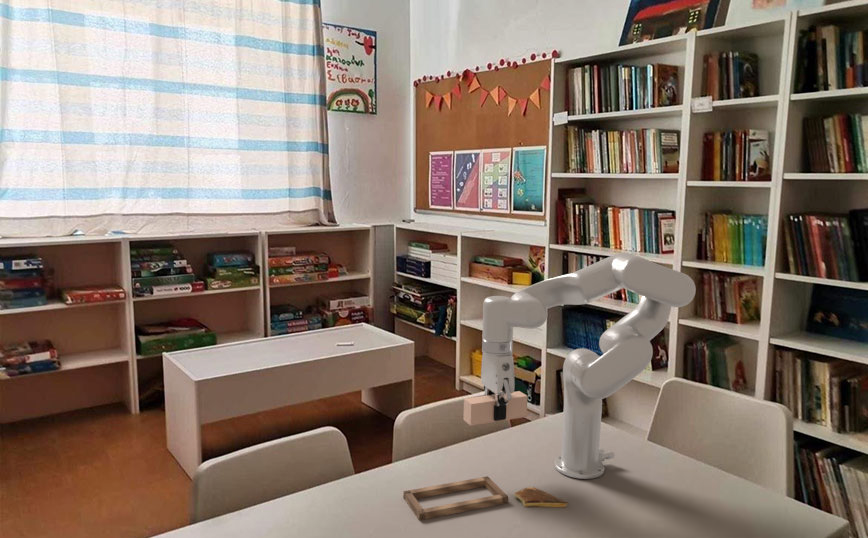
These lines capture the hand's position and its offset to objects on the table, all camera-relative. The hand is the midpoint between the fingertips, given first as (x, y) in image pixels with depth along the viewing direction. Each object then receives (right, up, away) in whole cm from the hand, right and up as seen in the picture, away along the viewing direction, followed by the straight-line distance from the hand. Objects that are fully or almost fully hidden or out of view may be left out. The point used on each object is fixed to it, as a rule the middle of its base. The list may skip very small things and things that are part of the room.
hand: (495, 415), depth 162 cm
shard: (+9, -18, -11) cm, 23 cm away
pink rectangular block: (0, -1, 0) cm, 1 cm away
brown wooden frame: (-10, -17, -12) cm, 23 cm away
